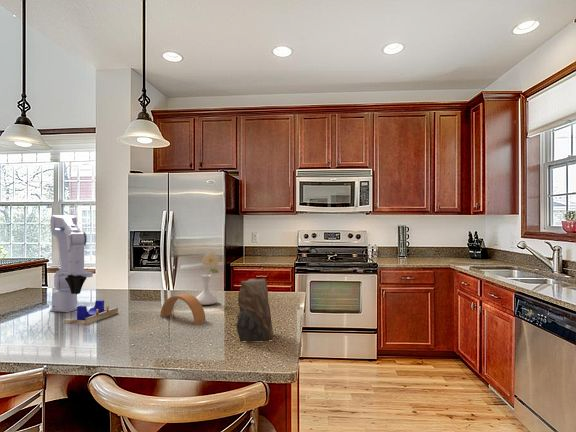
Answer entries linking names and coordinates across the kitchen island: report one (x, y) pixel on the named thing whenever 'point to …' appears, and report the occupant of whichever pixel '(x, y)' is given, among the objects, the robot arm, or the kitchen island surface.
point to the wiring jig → (94, 316)
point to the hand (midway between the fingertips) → (75, 293)
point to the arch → (191, 302)
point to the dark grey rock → (254, 311)
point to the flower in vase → (206, 295)
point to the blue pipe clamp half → (83, 312)
